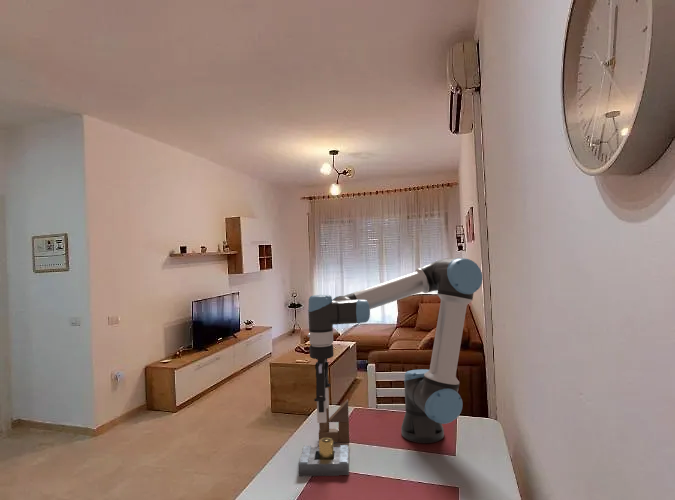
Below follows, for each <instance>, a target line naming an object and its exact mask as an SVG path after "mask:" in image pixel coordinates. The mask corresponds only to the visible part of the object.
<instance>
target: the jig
mask: <svg viewBox="0 0 675 500" xmlns="http://www.w3.org/2000/svg"><path fill="white" fill-rule="evenodd" d="M333 456H334V460H319V446H318V447H316V446H315V447H312V445H303V447H302V449H301V454H300V457H299V461H298V477H337V476H338V477H340V476H339V475H350V447H349V445H348V444H342V445H341V444H340V446H333Z"/></svg>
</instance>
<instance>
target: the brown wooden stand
mask: <svg viewBox="0 0 675 500" xmlns="http://www.w3.org/2000/svg"><path fill="white" fill-rule="evenodd" d="M319 397H320V396H319ZM326 417H327V422H326V423H318V426H319V428H318V441H319V440H320V439H322V438H331V439H333V443H350V420H349V399H348V398H347V399H346V400H345V401H344V402H343V403H342V404H341V405H340V406H339V407H338V408H337V409H336V410H335V412H333V414H331V416H330V407H329V408H326ZM330 423H338V429H336V428H330Z"/></svg>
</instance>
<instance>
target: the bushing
mask: <svg viewBox="0 0 675 500" xmlns="http://www.w3.org/2000/svg"><path fill="white" fill-rule="evenodd" d="M318 447H319V460H334V456H333V447H334V442H333V439H331V438H322V439H320V440H319V439H318Z"/></svg>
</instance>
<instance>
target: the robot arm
mask: <svg viewBox="0 0 675 500" xmlns="http://www.w3.org/2000/svg"><path fill="white" fill-rule="evenodd" d="M482 283H483V272H482V270H481V267H479V265H478V264H477V263H476V262H475V261H474V260H471V259H469V258H464V257H453V258H442V259H438V260H435V261H434V262H431V263H428V264H426V265H423V266H421V267H418V268H416V269H415V271H414V272H411V273H408V274H405V275H402V276H399V277H397V278H393V279H391V280H388V281H384V282H382V283H378V284H376V285H375V284H374V285H373V286H370V287H366V288H363V289H360V290H358V291H354V292H352V293H349V294H346V295H337V296H335V297H334V298H333V297H332V295H331V294H315V295H311V296H309V298H308V309H307V312H308V313H307V315H308V332H309V333H307V335H306V336H307V338H309V341H308V342H309V344H310V345H309V347H308V349H309V357H310V359H314V360H316V361H315V364H314V368H315V379H316V381H315V382H316V383H315V385H316V386H315V387H316V388H315V393H316V394H315V398H313V401H314V402H316V417H317V418H316V419H317V421H316V422H317V424H319V423H326V422H327V417H326V408H329V409H330V400H329V399H330V397H329V396H330V395H329V393H330V392H329V388H330V387H331V383H329V381H330V380H329V365H330V364H329V363H330V362H329V361H328V359H331V358H333V357H334V353H335V352H334V344H333V343H334V328H333V327H334V326H333V325H349V324H351V325H352V324H353V325H354V324H362V323H367V322H368V321H369V320H370V317H371V310H372V309H375V308H379V307H381V306H384V305H386V304H390V303H393V302H396V301H399V300H401V299H405V298H408V297H410V296H411V297H412V296H414V295H416V294H419V293H423V294H429V293H430V292H436V291H437V295H436V296H438V298H439V299H440V304H439V310H438V316H437V323H436V329H435V334H434V341H433V347H432V351H431V352H432V353H431V359H430V364H429V369H425V368H424V369H422V368H421V369H412V370H407V371H406V372H405V373H404V377H403V378H404V379H403V383H404V402H405V403H404V405H405V413H404V417H403V419H402V423H401V428H400V429H401V431H400V432H401V433H400V434H401V436H402V437H403V438H404V439H406V440H408V441H410V442H413V443H418V444H433V443H437V442H439V441H441V440H443V438H444V437H445V431H444V430H445V429H444V426H443V425H446V424H450V423H452V422H454V421H455V420H457V418H458V417H459V416H460V414H461V413H462V410H463V404H464V403H463V399H462V397H461V395H460V394H459V387H460V381H459V380H458V377H457V369H458V362H459V358H460V357H459V356H460V351H461V344H462V340H463V339H462V338H463V331H464V325H465V320H466V319H465V318H466V313H467V307H468V305H469V304H470V303H472V302H473V301H474V294H475V293H476V292H477V291H478V290H479V289H480V288H481V287H482ZM319 396H320V397H319Z"/></svg>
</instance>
